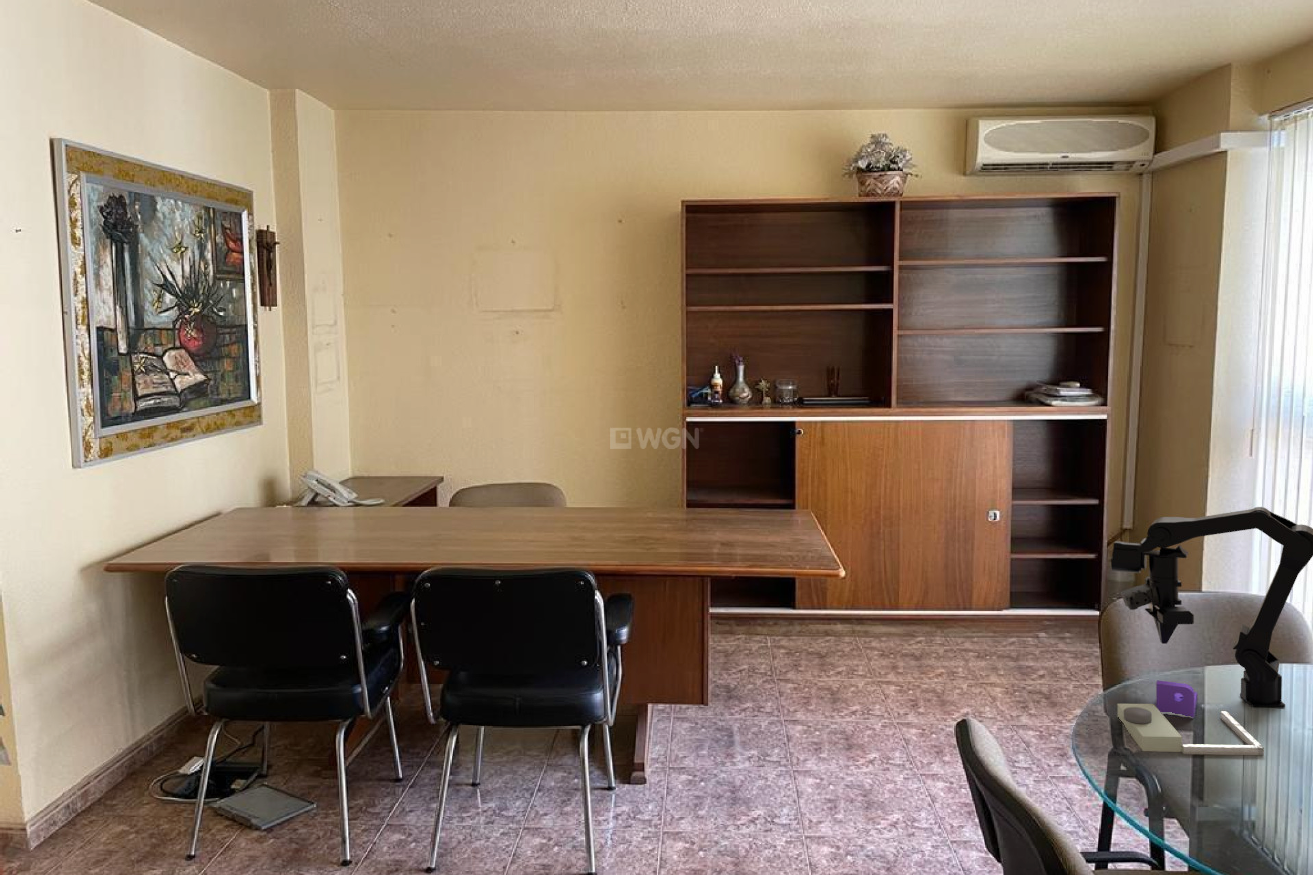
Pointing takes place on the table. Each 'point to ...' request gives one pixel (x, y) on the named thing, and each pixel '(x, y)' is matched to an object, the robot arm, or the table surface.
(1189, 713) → the bracket
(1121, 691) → the table surface
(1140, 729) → the cream railed tray
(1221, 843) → the table surface
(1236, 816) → the table surface
